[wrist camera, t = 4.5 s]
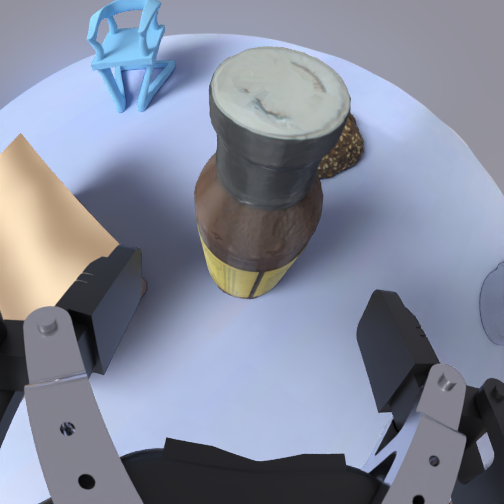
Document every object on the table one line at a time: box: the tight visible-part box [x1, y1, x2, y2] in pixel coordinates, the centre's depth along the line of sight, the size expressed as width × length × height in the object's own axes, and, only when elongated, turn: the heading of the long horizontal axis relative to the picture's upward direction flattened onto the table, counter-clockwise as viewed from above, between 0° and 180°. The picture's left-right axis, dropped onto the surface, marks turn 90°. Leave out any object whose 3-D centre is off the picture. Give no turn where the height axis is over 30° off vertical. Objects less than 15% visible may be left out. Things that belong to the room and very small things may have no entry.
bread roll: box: [317, 113, 364, 179], centre depth 29 cm, size 13×12×5 cm
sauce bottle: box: [194, 47, 351, 299], centre depth 17 cm, size 6×6×20 cm
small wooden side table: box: [0, 133, 147, 403], centre depth 19 cm, size 14×14×10 cm
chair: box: [87, 0, 175, 113], centre depth 26 cm, size 8×8×12 cm
